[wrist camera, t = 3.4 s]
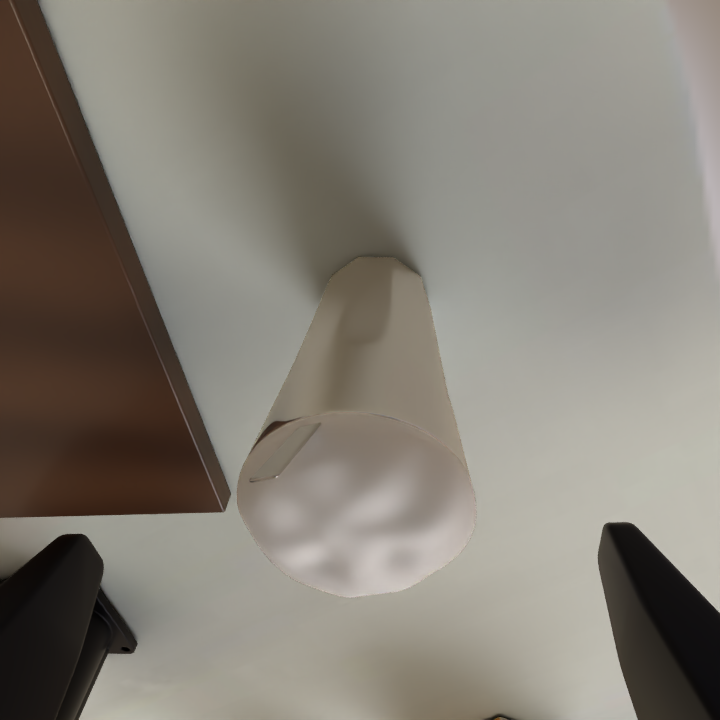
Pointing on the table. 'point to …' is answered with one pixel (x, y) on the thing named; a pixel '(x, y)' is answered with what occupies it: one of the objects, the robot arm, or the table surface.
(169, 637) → the table surface
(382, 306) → the milkshake
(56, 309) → the walnut board
